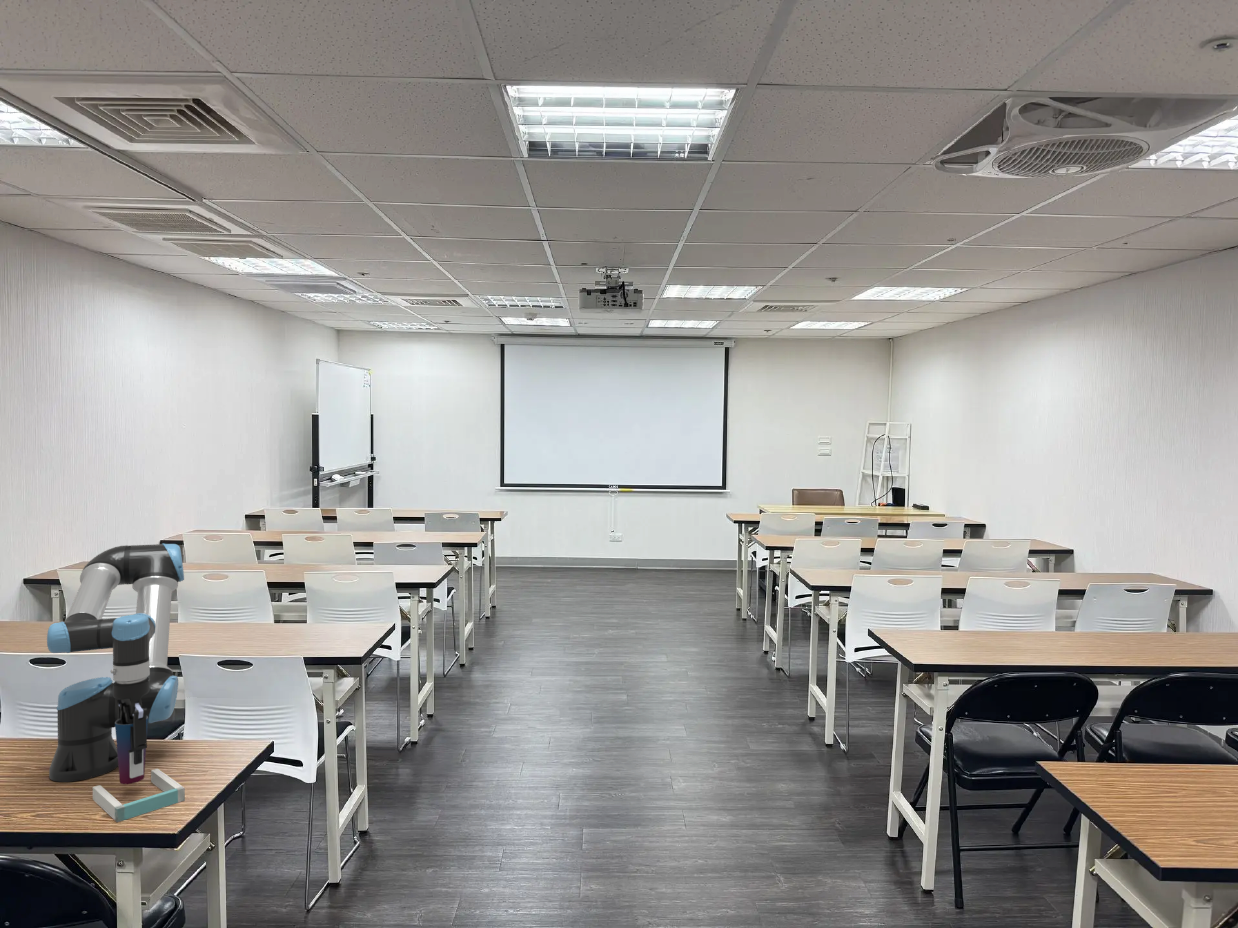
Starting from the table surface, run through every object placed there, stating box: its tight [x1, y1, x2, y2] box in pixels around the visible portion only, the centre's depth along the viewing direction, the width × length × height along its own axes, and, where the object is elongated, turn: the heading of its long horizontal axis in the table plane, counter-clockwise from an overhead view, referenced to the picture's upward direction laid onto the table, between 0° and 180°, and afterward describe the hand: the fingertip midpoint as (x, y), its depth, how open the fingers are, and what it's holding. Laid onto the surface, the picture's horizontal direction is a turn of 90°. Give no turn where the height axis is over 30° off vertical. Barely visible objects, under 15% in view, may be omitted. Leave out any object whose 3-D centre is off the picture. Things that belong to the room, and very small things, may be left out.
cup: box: [114, 715, 149, 785], centre depth 180 cm, size 7×7×15 cm
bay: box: [92, 768, 186, 823], centre depth 176 cm, size 18×14×3 cm
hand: (132, 771), depth 180 cm, fingers closed on cup, 6 cm apart
